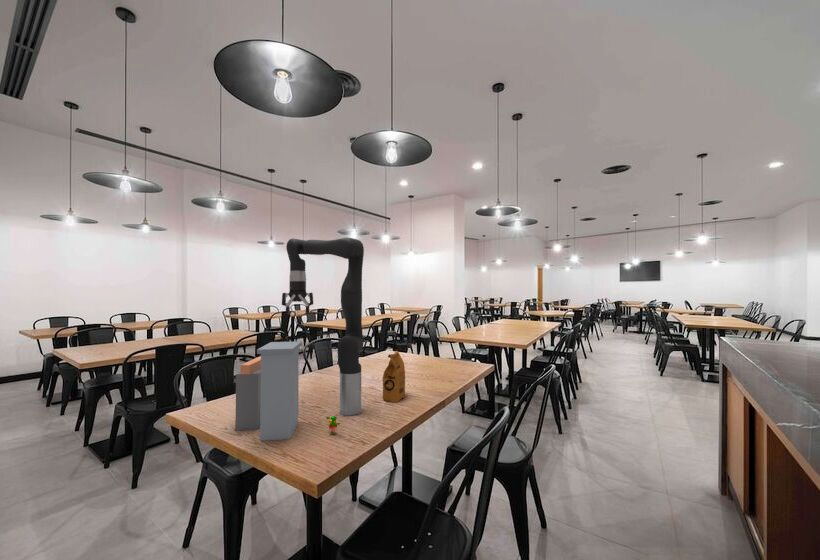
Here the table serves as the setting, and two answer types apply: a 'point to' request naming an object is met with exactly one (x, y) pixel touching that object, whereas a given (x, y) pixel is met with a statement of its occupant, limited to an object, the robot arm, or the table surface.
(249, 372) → the bar
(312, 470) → the table surface
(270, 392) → the pedestal
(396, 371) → the coffee package
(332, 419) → the toy character
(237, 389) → the shelf
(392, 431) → the table surface
